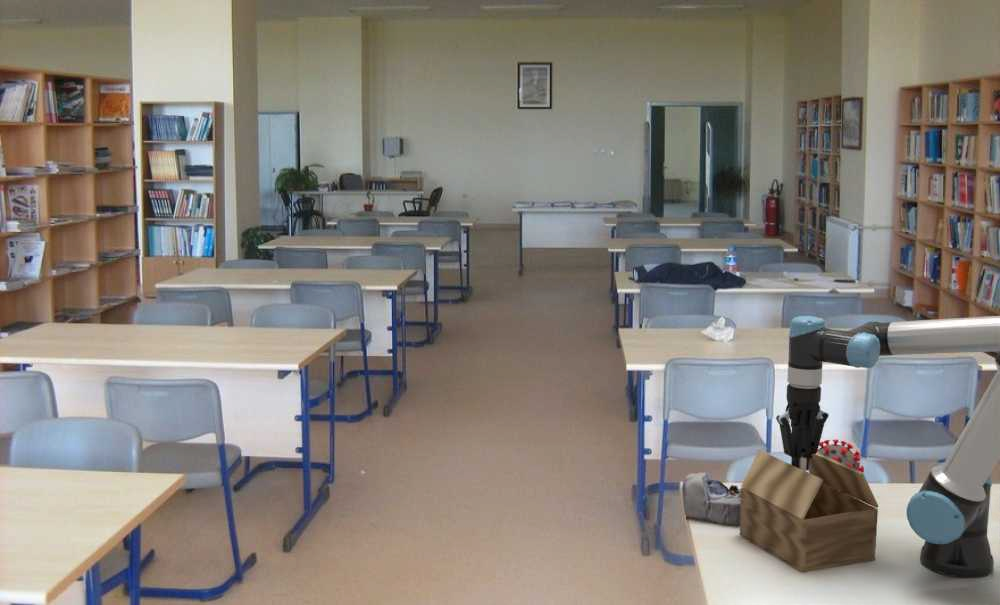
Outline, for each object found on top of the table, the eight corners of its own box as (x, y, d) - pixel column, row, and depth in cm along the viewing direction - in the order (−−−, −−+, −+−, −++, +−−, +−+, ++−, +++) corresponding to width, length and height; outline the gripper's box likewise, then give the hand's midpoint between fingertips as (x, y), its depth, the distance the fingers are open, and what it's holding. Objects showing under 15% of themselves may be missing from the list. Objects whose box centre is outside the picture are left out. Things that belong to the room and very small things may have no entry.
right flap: (876, 508, 247) (878, 506, 247) (861, 474, 244) (863, 472, 244) (811, 477, 268) (813, 476, 268) (796, 446, 265) (798, 444, 265)
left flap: (823, 479, 240) (821, 478, 240) (803, 519, 240) (801, 518, 240) (761, 450, 261) (759, 449, 261) (742, 487, 261) (740, 486, 261)
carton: (874, 559, 249) (877, 509, 247) (801, 572, 241) (804, 520, 239) (808, 524, 271) (810, 477, 269) (739, 535, 263) (741, 487, 261)
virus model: (873, 500, 288) (876, 445, 285) (822, 505, 284) (825, 449, 281) (842, 482, 301) (845, 430, 299) (793, 487, 298) (796, 434, 295)
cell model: (684, 465, 282) (764, 472, 278) (682, 505, 284) (761, 513, 280) (681, 481, 269) (765, 488, 265) (679, 523, 271) (762, 531, 267)
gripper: (817, 378, 255) (812, 476, 259) (770, 383, 250) (765, 482, 254) (838, 385, 248) (832, 486, 252) (790, 390, 243) (784, 492, 247)
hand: (799, 484), depth 253 cm, fingers closed
